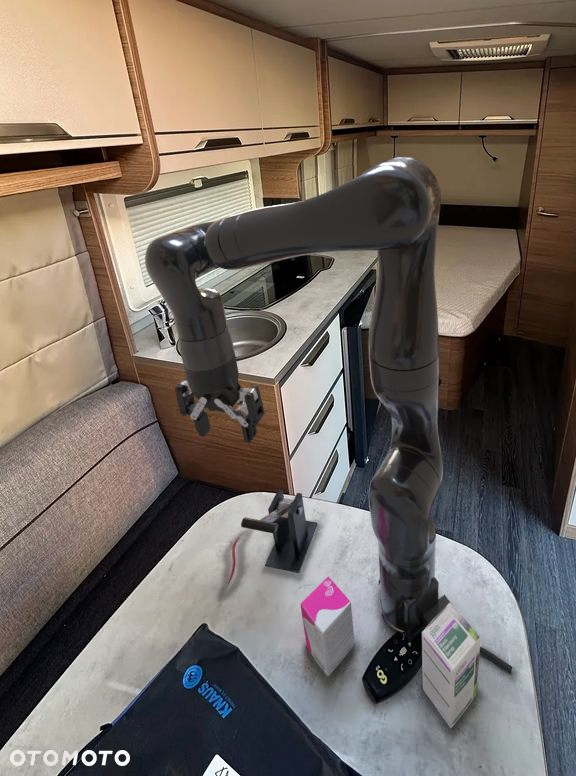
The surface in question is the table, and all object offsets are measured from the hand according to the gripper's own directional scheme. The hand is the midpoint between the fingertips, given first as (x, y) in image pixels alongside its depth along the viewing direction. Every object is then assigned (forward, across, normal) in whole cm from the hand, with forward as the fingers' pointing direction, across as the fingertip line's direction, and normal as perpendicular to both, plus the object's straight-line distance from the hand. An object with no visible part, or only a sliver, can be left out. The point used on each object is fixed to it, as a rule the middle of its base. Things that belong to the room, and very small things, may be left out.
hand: (227, 436), depth 68 cm
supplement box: (+30, -20, +11) cm, 38 cm away
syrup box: (+30, -39, +13) cm, 51 cm away
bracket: (+30, -7, -3) cm, 31 cm away
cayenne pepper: (+30, +3, +2) cm, 31 cm away
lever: (+17, -7, +2) cm, 18 cm away
